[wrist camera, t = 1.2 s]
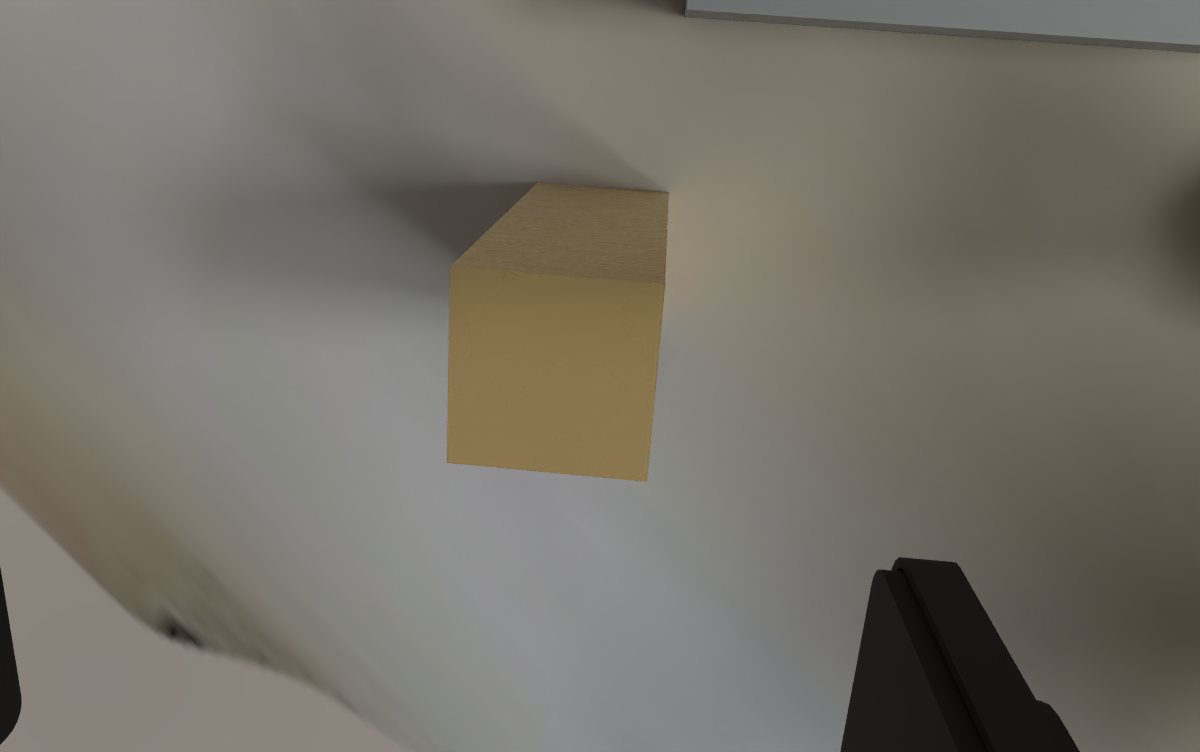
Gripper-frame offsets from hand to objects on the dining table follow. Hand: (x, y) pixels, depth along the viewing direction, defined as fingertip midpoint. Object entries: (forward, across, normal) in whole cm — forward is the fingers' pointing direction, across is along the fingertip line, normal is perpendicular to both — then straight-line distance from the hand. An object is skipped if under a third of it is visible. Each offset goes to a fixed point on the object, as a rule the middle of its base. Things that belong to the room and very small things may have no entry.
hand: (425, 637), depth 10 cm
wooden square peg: (+21, 0, 0) cm, 21 cm away
